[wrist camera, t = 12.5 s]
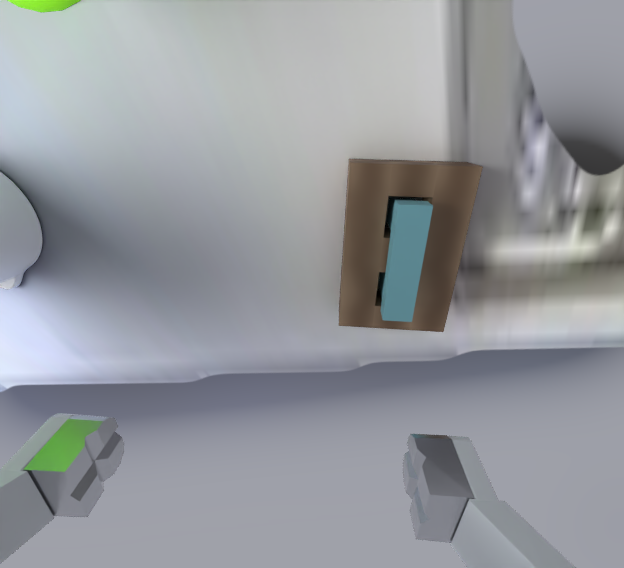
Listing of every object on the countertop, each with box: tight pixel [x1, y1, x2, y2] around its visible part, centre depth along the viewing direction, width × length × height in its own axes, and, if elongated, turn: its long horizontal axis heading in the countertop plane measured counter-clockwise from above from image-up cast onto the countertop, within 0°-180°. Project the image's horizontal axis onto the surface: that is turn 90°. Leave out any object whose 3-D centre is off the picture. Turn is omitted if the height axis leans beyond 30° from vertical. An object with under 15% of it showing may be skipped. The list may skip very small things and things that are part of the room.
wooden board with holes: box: [339, 159, 483, 332], centre depth 35 cm, size 12×18×4 cm, turn 179°
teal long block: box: [378, 197, 433, 322], centre depth 34 cm, size 3×12×7 cm, turn 179°
